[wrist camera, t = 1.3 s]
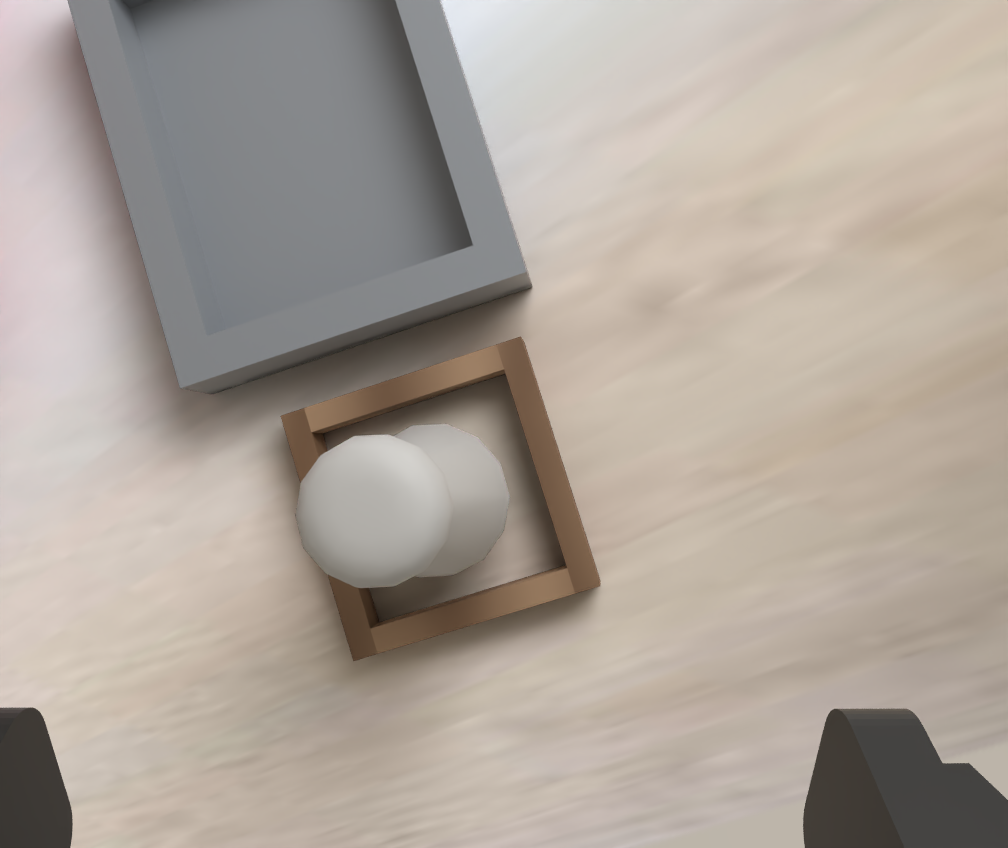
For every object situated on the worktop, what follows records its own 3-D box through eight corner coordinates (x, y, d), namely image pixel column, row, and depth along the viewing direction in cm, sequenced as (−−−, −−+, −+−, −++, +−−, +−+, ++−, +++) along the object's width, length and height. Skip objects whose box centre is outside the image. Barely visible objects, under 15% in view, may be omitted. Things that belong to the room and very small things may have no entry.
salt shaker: (458, 599, 38) (384, 668, 25) (345, 514, 39) (216, 539, 26) (543, 480, 38) (513, 487, 25) (428, 397, 38) (341, 363, 26)
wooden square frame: (523, 341, 38) (520, 336, 37) (600, 580, 37) (600, 585, 36) (292, 417, 39) (280, 415, 38) (363, 653, 38) (353, 661, 37)
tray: (401, -120, 40) (385, -168, 37) (532, 286, 38) (526, 271, 35) (95, -4, 41) (55, -41, 38) (211, 394, 39) (180, 388, 36)
